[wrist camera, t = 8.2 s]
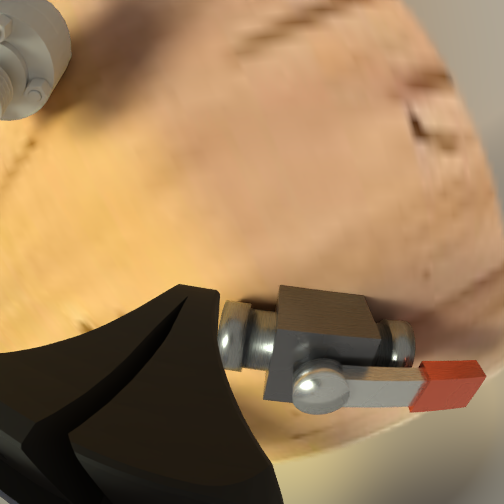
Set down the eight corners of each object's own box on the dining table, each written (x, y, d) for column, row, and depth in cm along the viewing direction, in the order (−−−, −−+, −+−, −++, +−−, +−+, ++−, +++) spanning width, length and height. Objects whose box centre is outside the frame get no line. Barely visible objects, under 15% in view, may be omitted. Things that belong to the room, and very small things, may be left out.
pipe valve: (378, 361, 22) (392, 406, 18) (225, 345, 23) (213, 391, 18) (404, 300, 20) (428, 341, 15) (231, 278, 21) (216, 319, 16)
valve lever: (288, 389, 17) (287, 412, 16) (298, 352, 16) (299, 375, 14) (456, 391, 17) (465, 408, 15) (476, 358, 15) (487, 376, 14)
